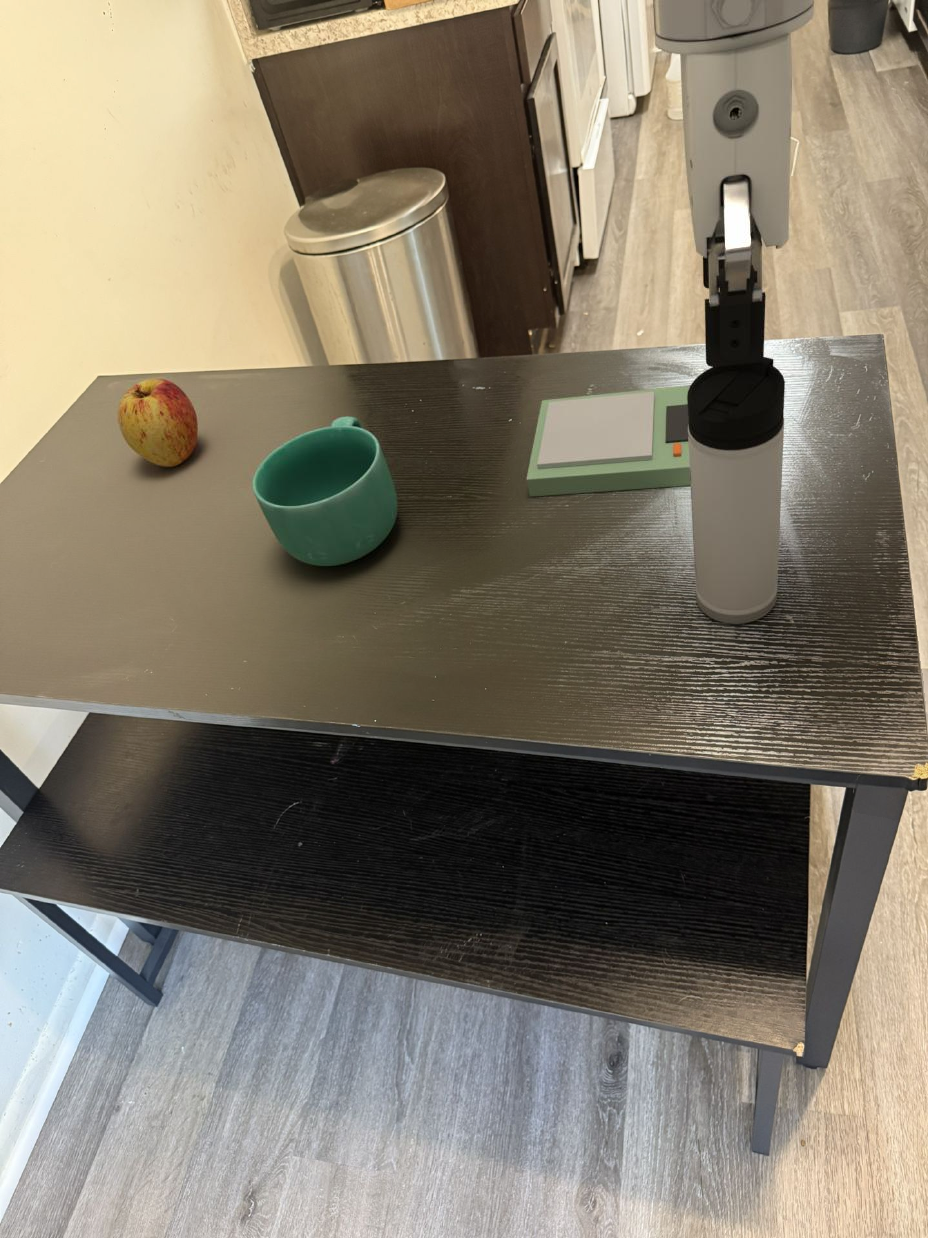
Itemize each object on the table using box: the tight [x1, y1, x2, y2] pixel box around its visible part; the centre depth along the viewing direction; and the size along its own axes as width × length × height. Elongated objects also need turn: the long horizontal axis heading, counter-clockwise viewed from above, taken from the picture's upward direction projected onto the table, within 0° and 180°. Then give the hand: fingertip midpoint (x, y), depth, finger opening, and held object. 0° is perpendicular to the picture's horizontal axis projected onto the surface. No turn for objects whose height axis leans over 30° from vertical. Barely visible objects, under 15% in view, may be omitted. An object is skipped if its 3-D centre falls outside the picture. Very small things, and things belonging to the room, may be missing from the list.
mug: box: [252, 416, 399, 567], centre depth 85 cm, size 17×13×10 cm
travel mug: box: [687, 356, 786, 625], centre depth 63 cm, size 6×7×20 cm
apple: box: [117, 378, 199, 468], centre depth 104 cm, size 9×9×10 cm
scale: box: [525, 384, 691, 498], centre depth 87 cm, size 16×14×3 cm
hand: (731, 320), depth 54 cm, fingers open, 9 cm apart
